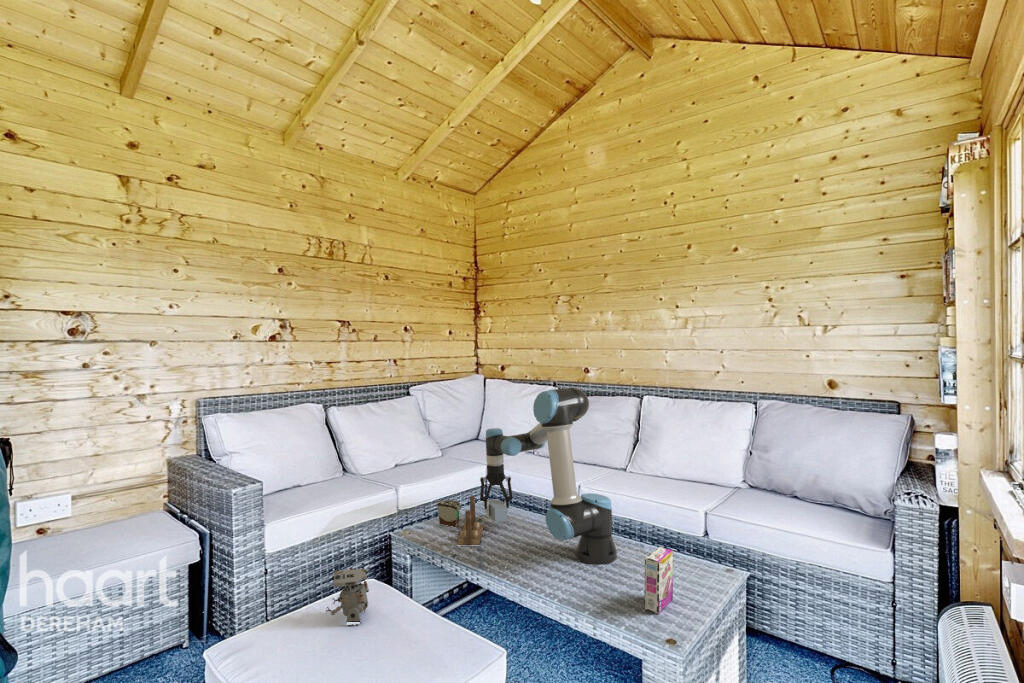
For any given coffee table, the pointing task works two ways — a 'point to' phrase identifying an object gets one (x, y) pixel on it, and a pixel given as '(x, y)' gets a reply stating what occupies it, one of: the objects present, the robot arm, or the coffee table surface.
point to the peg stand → (470, 527)
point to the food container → (449, 512)
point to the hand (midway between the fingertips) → (497, 515)
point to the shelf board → (497, 511)
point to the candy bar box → (658, 580)
